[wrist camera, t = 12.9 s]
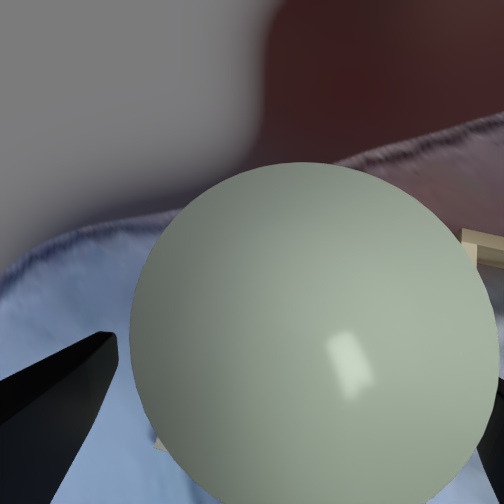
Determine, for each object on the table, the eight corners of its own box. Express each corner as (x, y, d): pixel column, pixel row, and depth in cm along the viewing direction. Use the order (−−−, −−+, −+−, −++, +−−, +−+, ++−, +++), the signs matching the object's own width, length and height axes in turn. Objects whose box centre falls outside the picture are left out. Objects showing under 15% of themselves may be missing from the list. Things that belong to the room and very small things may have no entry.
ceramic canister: (310, 446, 17) (500, 598, 4) (208, 416, 17) (65, 460, 4) (329, 340, 19) (499, 198, 6) (236, 316, 19) (195, 136, 6)
